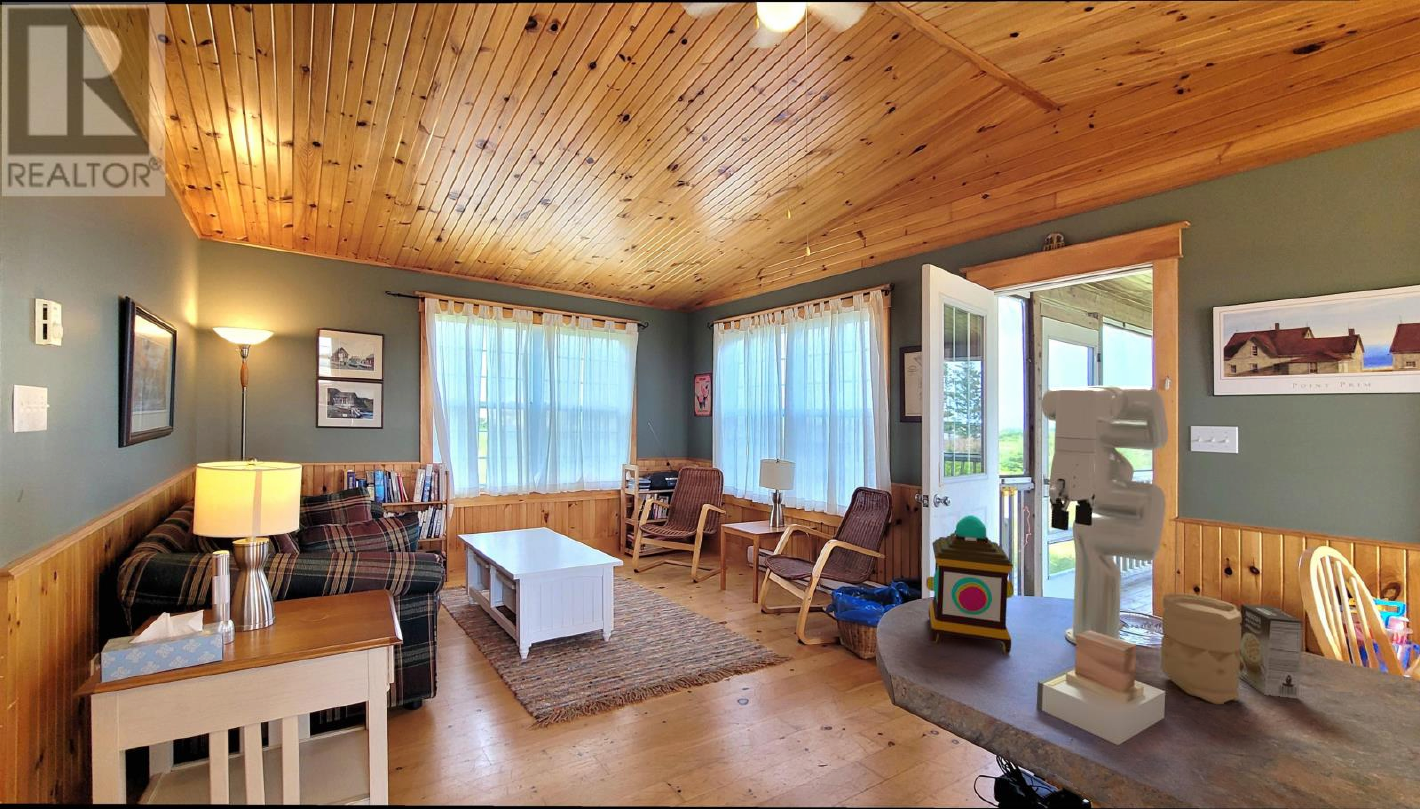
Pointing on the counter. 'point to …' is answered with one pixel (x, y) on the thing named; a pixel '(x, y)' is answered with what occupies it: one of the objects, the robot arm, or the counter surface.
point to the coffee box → (1270, 650)
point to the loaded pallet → (1105, 667)
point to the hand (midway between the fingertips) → (1071, 526)
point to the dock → (1100, 708)
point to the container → (1202, 646)
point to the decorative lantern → (970, 585)
